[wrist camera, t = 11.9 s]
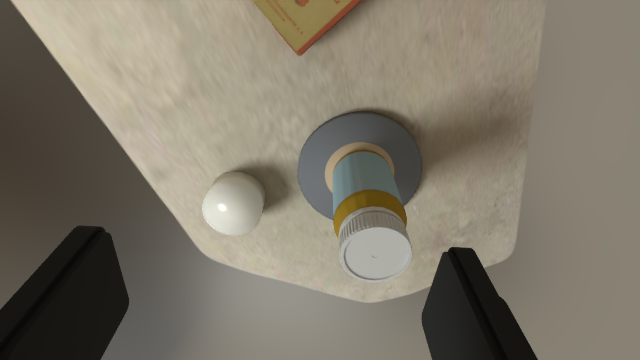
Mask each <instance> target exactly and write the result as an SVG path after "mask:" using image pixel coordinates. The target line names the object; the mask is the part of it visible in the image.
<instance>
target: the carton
mask: <svg viewBox="0 0 640 360" xmlns="http://www.w3.org/2000/svg"><path fill="white" fill-rule="evenodd" d="M252 1H253V2H254V3H255V4H256V6H257V7H258V8H259V9H260V10H261V11H262V13H263V14H264V15H265V16H266V17H267V18H268V20H269V21H270V22H271V23H272V25H273V26H274V27H275V29H276V30H277V31H278V32H279V34H280V35H281V36H282V37H283V38H284V40H285V41H286V42H287V43H288V44H289V46H290V47H291V48H292V49H293V50H294V51H295V53H296V54H297V55H298V56H301V55H302V54H303V53H304V52H305V51H306V50H307V49H308V48H309V47H310V46H312V45H313V44H314V43H315V42H316V41H317V40H318V39H319V38H320V37H321V36H322V35H324V34H325V33H326V32H327V31H328V30H329V29H330V28H331V27H333V26H334V25H335V24H336V23H337V22H338V21H339V20H340V19H341V18H343V17H344V16H345V15H346V14H347V13H348V12H349V11H350V10H352V9H353V8H354V7H355V6H356V5H357V4H358V3H359V2H360V1H361V0H252Z"/></svg>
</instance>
